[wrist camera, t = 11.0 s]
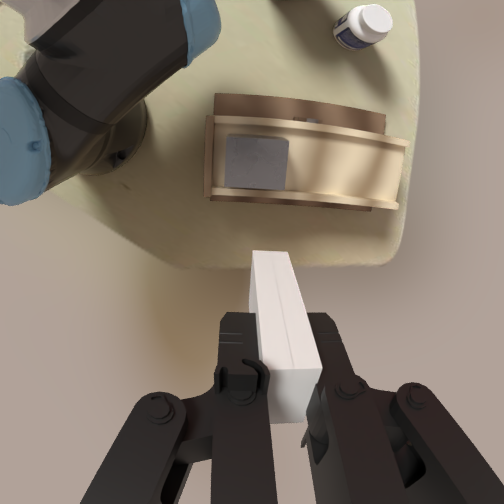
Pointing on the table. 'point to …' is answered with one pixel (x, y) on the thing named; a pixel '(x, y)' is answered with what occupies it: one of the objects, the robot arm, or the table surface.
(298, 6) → the table surface
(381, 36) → the pill bottle
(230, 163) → the block
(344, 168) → the balance beam
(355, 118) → the stand
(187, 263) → the table surface
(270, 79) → the table surface
